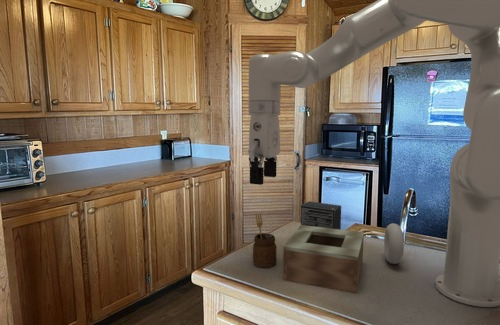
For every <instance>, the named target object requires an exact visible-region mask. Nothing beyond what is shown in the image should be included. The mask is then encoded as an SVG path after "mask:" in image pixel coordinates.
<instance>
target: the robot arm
mask: <svg viewBox="0 0 500 325" xmlns="http://www.w3.org/2000/svg"><path fill="white" fill-rule="evenodd" d="M426 21H429V22H433V23H439V24H444V25H448V29H449V31H450V33H451V34H452V35H453V36H454V37H455V38H456V39H458V40H460V41H461V42H463V43H464V45H466V47H467V48H468V50H469V52H470V57H471V63H470V64H471V65H470V66H471V67H470V74H469V75H470V77H469V81H468V85H467V86H468V87H467V91H466V92H467V93H466V98H465V102H464V107H463V112H462V115H463V116H462V117H463V122H464V124H465V125H466V127H467V128H468V129H469V131H470V132H471V133H470V138H469V142H468V143H467V144H465V145H463V146H462V147H460V148H459V149H458V150H457V151H456V152H455V154H454V155H453V157H452V159H451V163H450V169H449V170H450V171H449V179H450V180H449V181H450V182H449V183H450V186H449V190H450V192H449V196H450V197H449V213H448V224H447V232H446V233H447V236H446V246H445V258H444V259H445V262H444V270H443V272H444V273H443V274H440V275H437V277H436V278H435V283H434V285H435V286H434V287H435V288H436V289H437V291H439V292H440V293H441V294H442V295H443V296H445V297H447V298H448V299H451V300H453V301H456V302H458V303H460V304H461V303H462V304H464V305H469V306H473V307H481V308H493V307H500V275H499V270H500V0H375V1H374V2H372V3H371V4H369V5H367V6H365V7H364V8H362V9H360V10H358V11H357V12H355V13H353V14H352V15H350V16H349V17H347V18H346V19H345V20H344V21H342V23H341V24H340V25H339V27H338V28H337V29H336V30H335V33H334V34H333V35H332V36H331V37H330V38H328V39H327V40H326V41H325V42H322V43H321V44H320V45H319V46H316V47H315V48H313V49H312V50H310V51H308V52H307V53H304V52H302V51H299V50H289V51H287V52H285V51H284V52H281V53H276V54H271V53H261V54H254V55H252V56H251V57H250V58H249V61H248V116H250V118H249V119H250V122H249V132H248V133H249V134H248V135H249V136H248V151H247V152H248V156H249V157H248V161H249V163H248V164H249V165H248V166H249V184H251V185H257V186H263V185H264V177H268V178H276V176H277V162H278V161H277V160H278V158H277V156H279V154H280V152H281V132H280V131H281V129H280V120H279V116H281V99H282V98H281V96H282V94H281V91H282V90H281V89H282V88H281V87H282V86H288V87H293V88H299V89H305V88H309V87H311V86H313V85H315V84H317V83H319V82H321V81H323V80H325V79H326V78H328V77H330V76H333V75H334V74H335V73H337V72H339V71H341V70H342V69H344V68H346V67H347V66H349V65H350V64H352V63H354V62H356V61H357V60H358V61H359V60H360V59H362V57H364V56H365V55H367V54H369V53H371V52H373V51H375V50H377V49H379V48H380V47H382V46H383V45H385V44H387V43H389V42H391V41H393V40H395V39H396V38H398V37H400V36H402V35H404V34H407V33H409V31H412V30H413V29H415V28H417V27H418V26H420V25H422V24H424V23H425V22H426Z"/></svg>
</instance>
